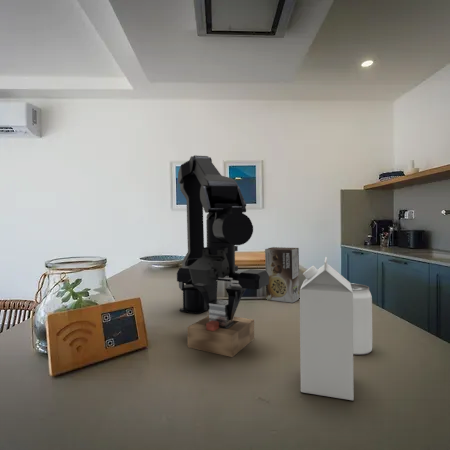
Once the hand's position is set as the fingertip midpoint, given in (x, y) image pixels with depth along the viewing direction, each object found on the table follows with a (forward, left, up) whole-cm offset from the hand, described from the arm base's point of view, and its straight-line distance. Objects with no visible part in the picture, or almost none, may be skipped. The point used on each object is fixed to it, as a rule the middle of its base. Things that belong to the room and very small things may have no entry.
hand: (221, 318), depth 64 cm
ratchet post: (0, 0, -5) cm, 5 cm away
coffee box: (0, +39, -5) cm, 39 cm away
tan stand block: (0, 0, -5) cm, 5 cm away
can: (+24, +9, -5) cm, 26 cm away
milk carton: (+22, -7, -5) cm, 24 cm away
